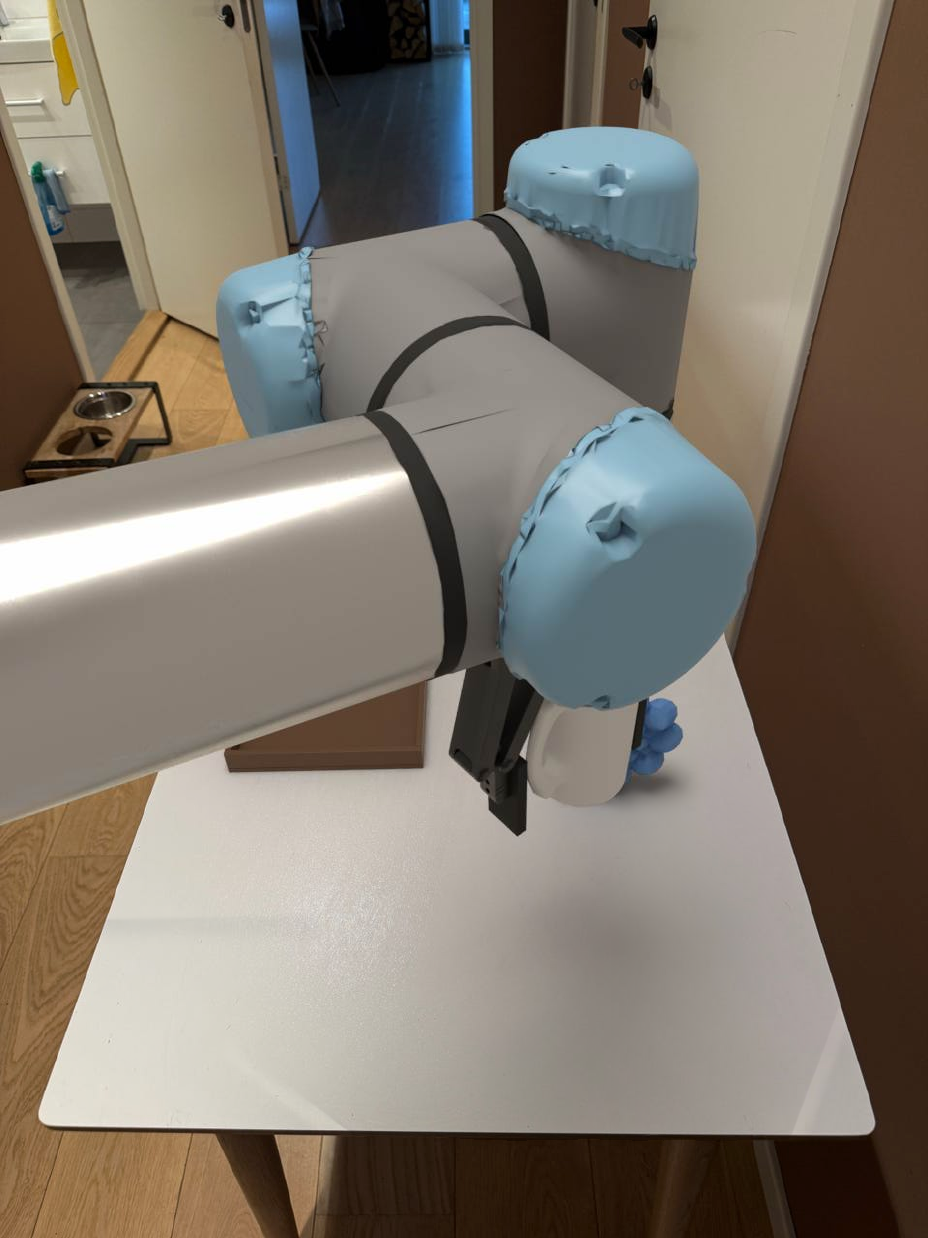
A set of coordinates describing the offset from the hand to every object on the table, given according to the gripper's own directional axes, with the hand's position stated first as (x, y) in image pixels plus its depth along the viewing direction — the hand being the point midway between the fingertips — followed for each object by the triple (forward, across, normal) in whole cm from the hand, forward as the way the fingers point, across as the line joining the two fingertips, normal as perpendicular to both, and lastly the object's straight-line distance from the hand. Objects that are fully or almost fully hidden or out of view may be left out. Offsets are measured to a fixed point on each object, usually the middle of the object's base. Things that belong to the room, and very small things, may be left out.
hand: (567, 776), depth 60 cm
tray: (+19, -5, -37) cm, 42 cm away
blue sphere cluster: (+19, -14, -8) cm, 26 cm away
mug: (+1, 0, 0) cm, 1 cm away
